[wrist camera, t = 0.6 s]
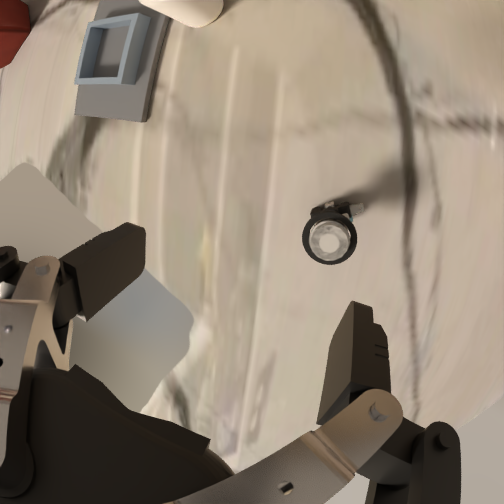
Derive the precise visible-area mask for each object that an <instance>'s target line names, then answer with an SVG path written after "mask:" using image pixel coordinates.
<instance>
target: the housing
mask: <svg viewBox="0 0 504 504" xmlns="http://www.w3.org/2000/svg"><path fill="white" fill-rule="evenodd" d="M169 19H170V17H169V16H167V15H164V14H162V13H160V12H158V11H156V10H154V9H151V8H149V7H147V6H145V5H143V4H141V3H140V2H139V0H101V1H100V2H99V5H98V8H97V11H96V14H95V18H94V21H93V22H88V26H87V29H86V33H85V37H84V41H83V45H82V49H81V53H80V58H79V62H78V67H77V72H76V77H75V83H74V85H79V86H78V92H77V99H76V106H75V114H74V115H81V116H92V117H102V118H111V119H120V120H127V121H135V122H146V119H147V113H148V107H149V102H150V97H151V91H152V87H153V82H154V77H155V72H156V68H157V64H158V60H159V55H160V51H161V47H162V44H163V40H164V36H165V33H166V29H167V26H168V22H169Z"/></svg>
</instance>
